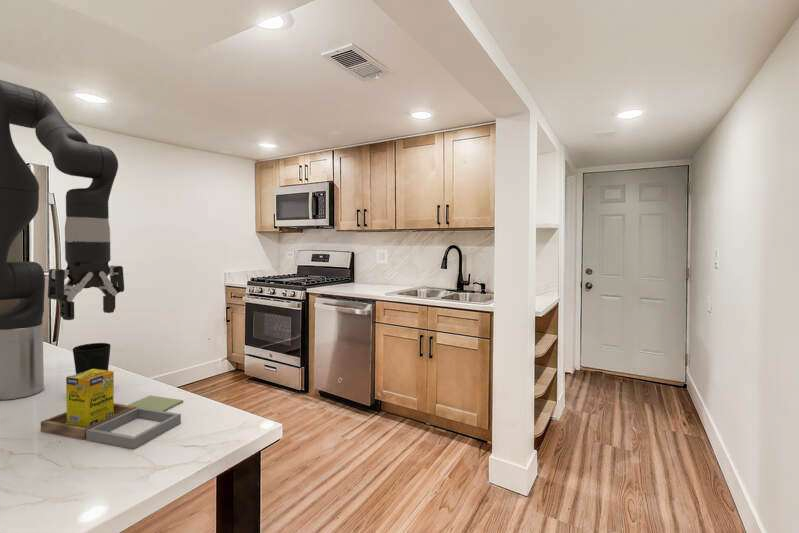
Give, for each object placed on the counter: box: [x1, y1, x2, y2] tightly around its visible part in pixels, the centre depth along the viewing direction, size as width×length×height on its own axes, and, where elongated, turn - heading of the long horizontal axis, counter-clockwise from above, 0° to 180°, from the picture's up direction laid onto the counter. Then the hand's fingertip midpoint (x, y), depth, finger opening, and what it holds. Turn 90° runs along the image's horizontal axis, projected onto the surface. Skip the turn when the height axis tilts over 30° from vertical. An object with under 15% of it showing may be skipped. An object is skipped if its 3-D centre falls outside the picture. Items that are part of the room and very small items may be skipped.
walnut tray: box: [40, 402, 136, 441], centre depth 85 cm, size 12×12×2 cm
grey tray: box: [85, 407, 182, 450], centre depth 83 cm, size 12×12×2 cm
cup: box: [72, 342, 112, 375], centre depth 102 cm, size 8×8×12 cm
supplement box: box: [65, 369, 115, 428], centre depth 85 cm, size 6×6×11 cm
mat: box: [127, 394, 184, 412], centre depth 95 cm, size 10×8×1 cm
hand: (89, 315), depth 84 cm, fingers open, 8 cm apart
